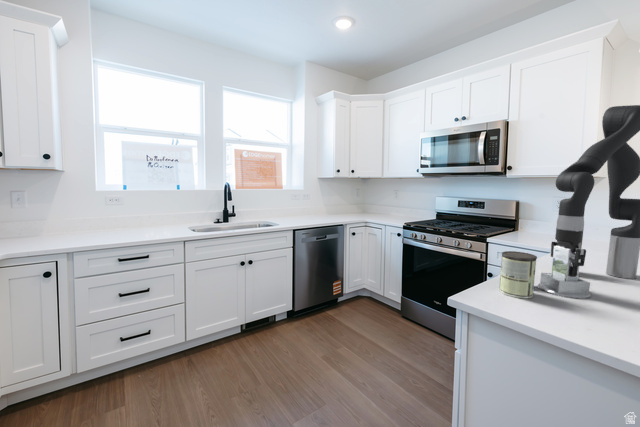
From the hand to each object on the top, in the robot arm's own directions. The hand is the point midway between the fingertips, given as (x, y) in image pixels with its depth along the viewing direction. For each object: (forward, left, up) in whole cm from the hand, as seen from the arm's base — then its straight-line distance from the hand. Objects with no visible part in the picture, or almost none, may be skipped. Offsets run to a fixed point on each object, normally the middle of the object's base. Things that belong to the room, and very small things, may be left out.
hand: (565, 273), depth 109 cm
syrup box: (0, 0, -5) cm, 5 cm away
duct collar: (0, 0, -7) cm, 7 cm away
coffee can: (+17, -10, -7) cm, 21 cm away
